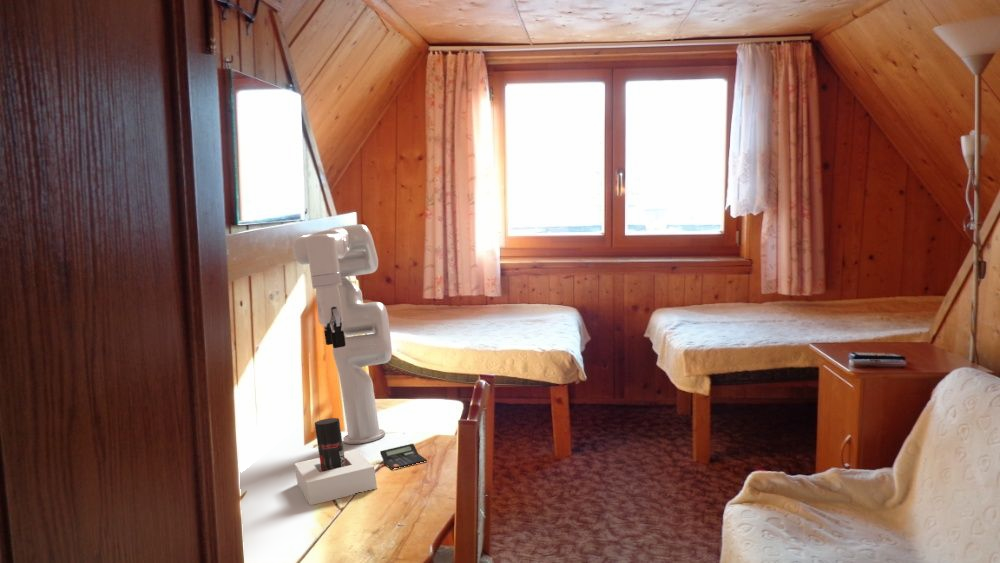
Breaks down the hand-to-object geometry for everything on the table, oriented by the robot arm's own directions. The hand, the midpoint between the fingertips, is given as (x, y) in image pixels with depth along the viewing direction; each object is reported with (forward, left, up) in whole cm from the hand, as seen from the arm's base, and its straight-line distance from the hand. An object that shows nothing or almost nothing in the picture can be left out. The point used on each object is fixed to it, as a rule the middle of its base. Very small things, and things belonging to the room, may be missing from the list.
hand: (335, 345), depth 205 cm
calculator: (+4, +13, -34) cm, 36 cm away
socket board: (+12, -7, -33) cm, 36 cm away
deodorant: (+12, -7, -32) cm, 35 cm away
